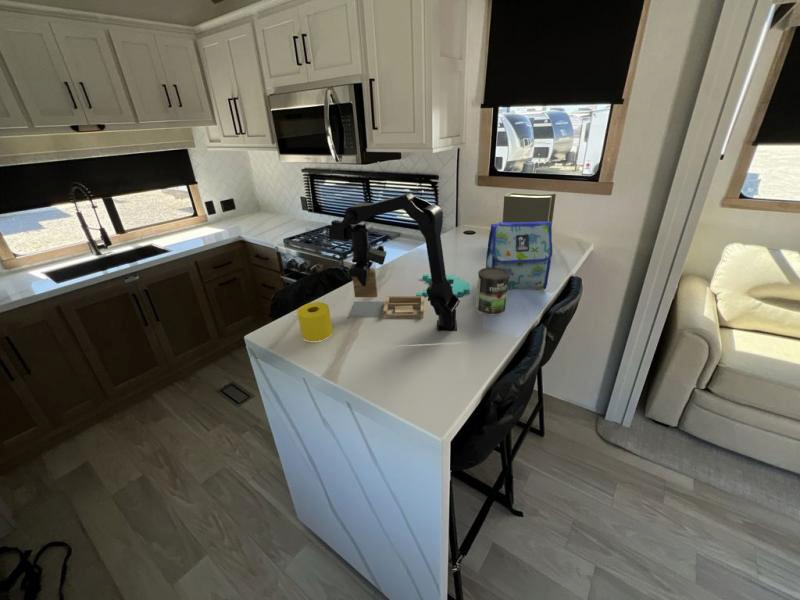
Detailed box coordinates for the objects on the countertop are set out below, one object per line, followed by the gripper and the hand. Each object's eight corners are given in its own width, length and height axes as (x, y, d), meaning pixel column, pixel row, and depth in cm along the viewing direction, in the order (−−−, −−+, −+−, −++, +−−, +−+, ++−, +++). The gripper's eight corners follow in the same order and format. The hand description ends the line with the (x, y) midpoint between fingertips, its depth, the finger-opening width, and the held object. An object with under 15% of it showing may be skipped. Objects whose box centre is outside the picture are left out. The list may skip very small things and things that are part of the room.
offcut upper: (413, 314, 125) (413, 311, 125) (395, 315, 125) (394, 312, 125) (412, 308, 129) (412, 305, 128) (395, 309, 129) (394, 306, 128)
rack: (423, 318, 123) (423, 311, 122) (383, 318, 125) (383, 311, 123) (424, 303, 133) (424, 296, 131) (387, 303, 134) (386, 296, 133)
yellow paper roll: (326, 343, 112) (322, 318, 108) (297, 341, 114) (291, 316, 110) (336, 326, 121) (333, 302, 117) (309, 325, 123) (304, 301, 118)
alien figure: (416, 300, 137) (468, 302, 133) (416, 295, 136) (468, 297, 132) (423, 278, 154) (470, 280, 150) (423, 273, 153) (470, 275, 149)
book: (499, 251, 179) (502, 194, 166) (505, 245, 185) (509, 191, 173) (542, 257, 167) (550, 197, 154) (548, 251, 174) (555, 193, 161)
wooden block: (376, 297, 127) (374, 271, 122) (354, 297, 127) (351, 271, 123) (377, 295, 128) (375, 269, 123) (355, 295, 129) (352, 270, 124)
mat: (380, 318, 125) (380, 317, 124) (347, 318, 126) (347, 317, 125) (385, 302, 135) (384, 301, 135) (354, 302, 136) (354, 301, 136)
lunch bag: (490, 296, 136) (496, 229, 123) (482, 278, 150) (487, 217, 138) (549, 294, 135) (560, 227, 122) (535, 276, 149) (544, 215, 137)
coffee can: (511, 313, 124) (515, 276, 117) (484, 318, 121) (487, 281, 115) (496, 300, 132) (499, 265, 126) (471, 304, 130) (473, 269, 124)
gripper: (380, 252, 109) (383, 296, 116) (387, 233, 126) (389, 273, 133) (344, 252, 110) (350, 297, 118) (356, 234, 127) (360, 274, 134)
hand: (364, 284), depth 125 cm, fingers closed on wooden block, 2 cm apart
